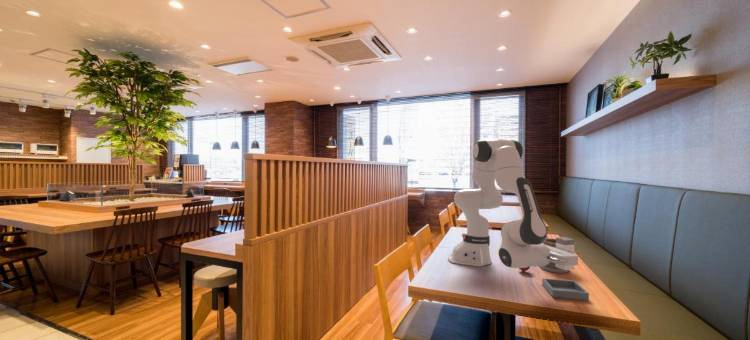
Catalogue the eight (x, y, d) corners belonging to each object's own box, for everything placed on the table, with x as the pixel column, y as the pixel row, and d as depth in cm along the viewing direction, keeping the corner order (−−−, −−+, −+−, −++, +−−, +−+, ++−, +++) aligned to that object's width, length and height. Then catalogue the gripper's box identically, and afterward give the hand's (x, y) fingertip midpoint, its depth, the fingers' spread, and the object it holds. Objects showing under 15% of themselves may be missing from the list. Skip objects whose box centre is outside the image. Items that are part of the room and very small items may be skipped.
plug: (564, 270, 121) (565, 240, 121) (555, 266, 125) (555, 237, 125) (573, 269, 122) (574, 239, 122) (564, 265, 127) (564, 237, 126)
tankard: (573, 274, 145) (573, 242, 145) (544, 272, 148) (544, 241, 147) (557, 260, 165) (557, 233, 164) (531, 259, 167) (532, 232, 167)
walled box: (552, 297, 119) (552, 290, 119) (542, 285, 132) (542, 278, 132) (588, 300, 117) (588, 293, 117) (574, 287, 129) (574, 280, 129)
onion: (532, 273, 146) (533, 256, 146) (523, 274, 144) (523, 257, 144) (523, 269, 151) (524, 253, 151) (514, 270, 150) (514, 254, 150)
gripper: (560, 253, 110) (590, 251, 114) (520, 240, 130) (546, 238, 134) (560, 271, 110) (590, 268, 114) (520, 254, 130) (546, 252, 134)
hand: (566, 251), depth 124 cm, fingers closed on plug, 4 cm apart
